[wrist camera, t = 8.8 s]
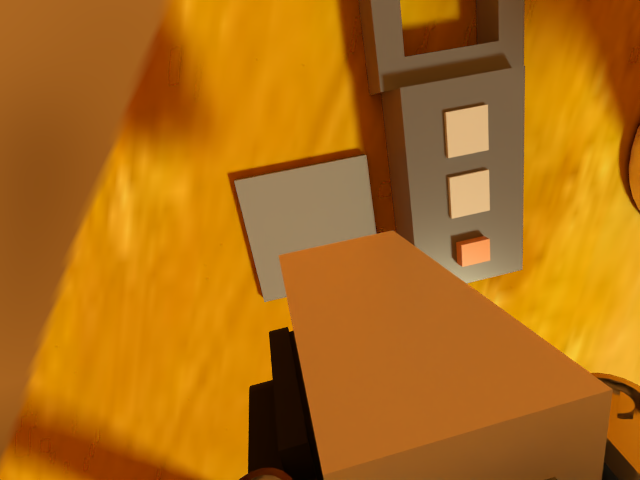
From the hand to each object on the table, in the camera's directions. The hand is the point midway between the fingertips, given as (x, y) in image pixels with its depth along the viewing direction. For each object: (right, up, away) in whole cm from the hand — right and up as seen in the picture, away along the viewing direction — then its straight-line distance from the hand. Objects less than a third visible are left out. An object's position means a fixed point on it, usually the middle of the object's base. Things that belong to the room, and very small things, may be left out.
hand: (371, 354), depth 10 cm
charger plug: (-1, +1, +3) cm, 3 cm away
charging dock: (+6, +12, +12) cm, 17 cm away
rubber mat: (-2, +4, +13) cm, 13 cm away
